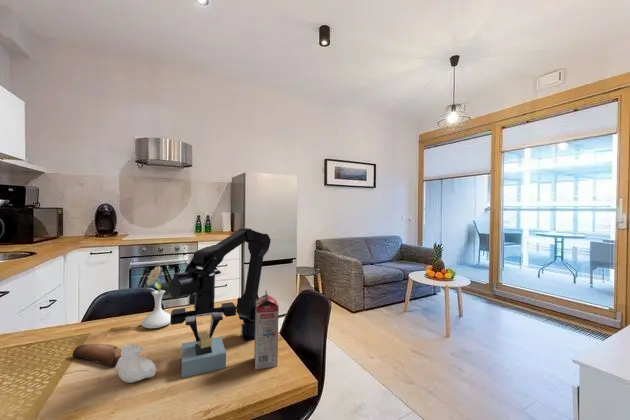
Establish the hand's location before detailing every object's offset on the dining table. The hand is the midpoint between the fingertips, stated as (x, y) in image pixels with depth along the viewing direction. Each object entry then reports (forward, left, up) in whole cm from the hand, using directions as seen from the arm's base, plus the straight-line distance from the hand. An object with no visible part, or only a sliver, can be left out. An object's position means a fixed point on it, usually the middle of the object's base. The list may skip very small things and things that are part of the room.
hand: (203, 340), depth 84 cm
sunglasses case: (+28, -17, -8) cm, 34 cm away
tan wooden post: (0, 0, -1) cm, 1 cm away
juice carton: (-18, +8, -7) cm, 21 cm away
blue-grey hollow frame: (0, 0, -7) cm, 7 cm away
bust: (+18, +1, -7) cm, 19 cm away
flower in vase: (+15, -37, -7) cm, 41 cm away
